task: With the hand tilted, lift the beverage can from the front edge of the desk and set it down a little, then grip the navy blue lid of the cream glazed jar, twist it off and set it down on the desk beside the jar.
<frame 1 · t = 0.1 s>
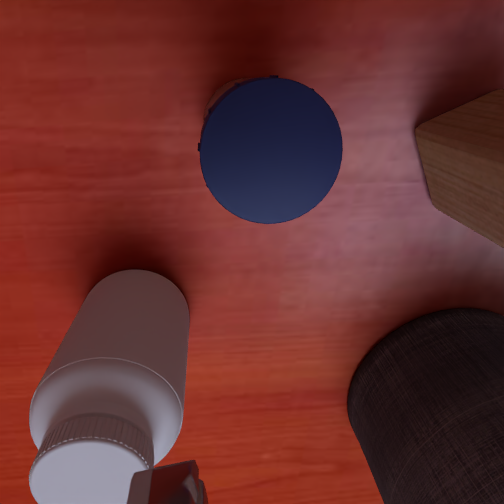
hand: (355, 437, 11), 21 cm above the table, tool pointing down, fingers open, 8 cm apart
decorative item: (461, 149, 30), on the table
jar lid: (271, 154, 17), point 11 cm above the table, screwed on, not yet turned
pill bottle: (138, 310, 32), on the table
planter: (437, 387, 39), on the table
jar: (245, 123, 28), on the table
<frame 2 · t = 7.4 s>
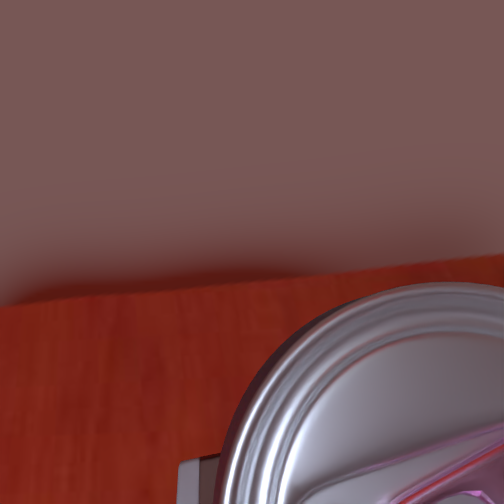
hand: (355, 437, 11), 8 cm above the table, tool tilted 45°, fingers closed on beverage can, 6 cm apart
beverage can: (325, 440, 18), on the table, touching gripper
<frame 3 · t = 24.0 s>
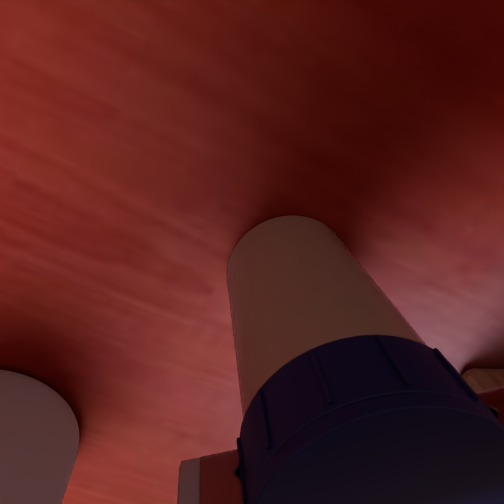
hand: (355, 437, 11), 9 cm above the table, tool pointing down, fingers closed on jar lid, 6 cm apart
decorative item: (493, 408, 24), on the table
jar lid: (383, 499, 9), point 11 cm above the table, screwed on, not yet turned, touching gripper
pill bottle: (2, 423, 21), on the table
jar: (287, 272, 19), on the table
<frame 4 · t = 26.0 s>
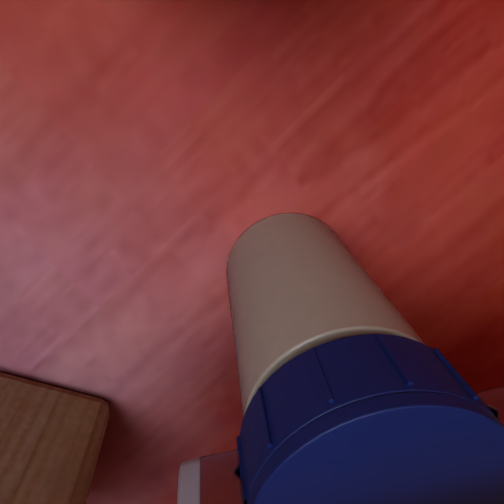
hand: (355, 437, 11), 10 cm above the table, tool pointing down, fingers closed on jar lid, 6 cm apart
decorative item: (33, 424, 22), on the table
jar lid: (382, 498, 9), point 11 cm above the table, turned 103° so far, risen 0.3 cm, still on its thread, touching gripper
jar: (286, 269, 19), on the table
when the fingers open (0 cm above the table, at t = 35.5 s): jar lid stays where it is, point 2 cm above the table.
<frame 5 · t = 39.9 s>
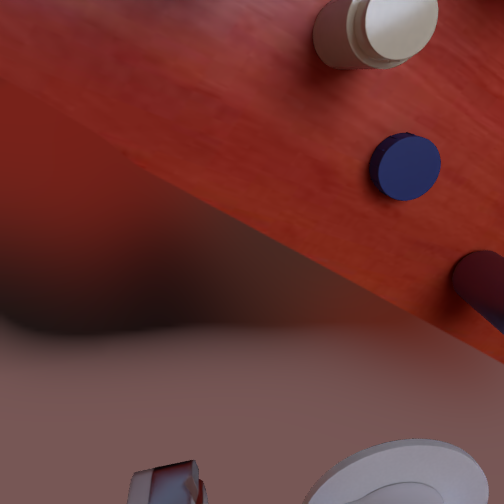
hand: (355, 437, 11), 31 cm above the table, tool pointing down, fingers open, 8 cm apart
beverage can: (473, 271, 46), on the table
jar lid: (407, 168, 39), point 2 cm above the table, off its thread
jar: (345, 33, 35), on the table
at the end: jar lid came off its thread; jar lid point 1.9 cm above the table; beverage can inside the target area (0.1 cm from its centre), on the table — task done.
